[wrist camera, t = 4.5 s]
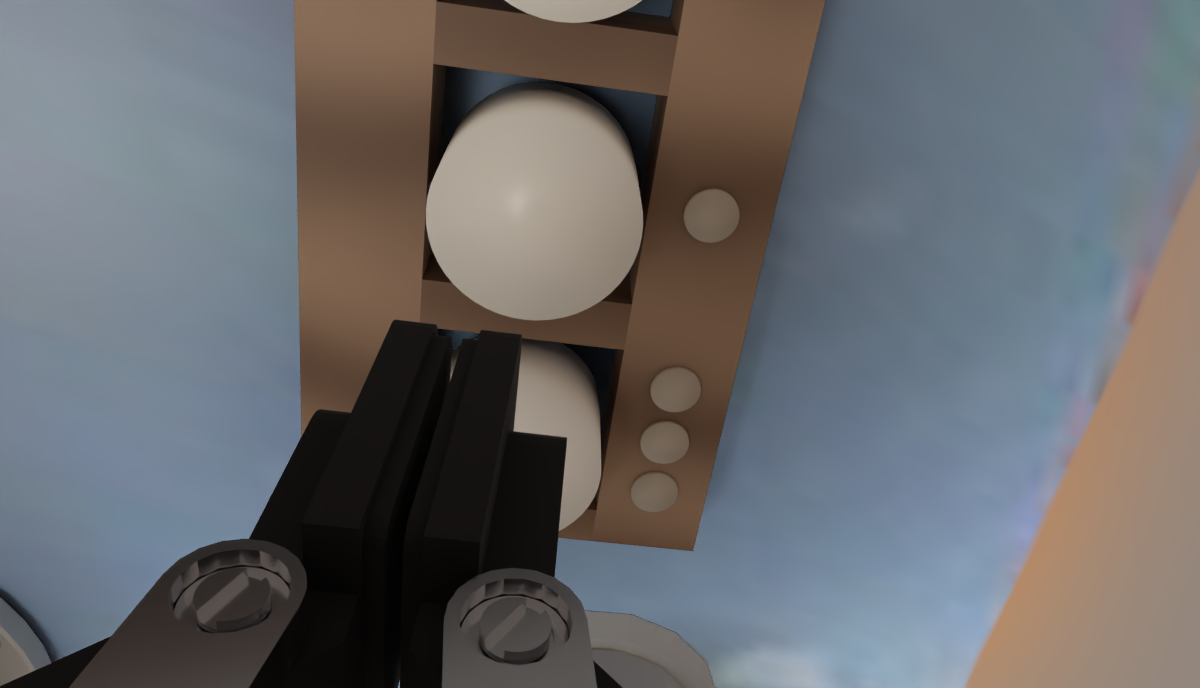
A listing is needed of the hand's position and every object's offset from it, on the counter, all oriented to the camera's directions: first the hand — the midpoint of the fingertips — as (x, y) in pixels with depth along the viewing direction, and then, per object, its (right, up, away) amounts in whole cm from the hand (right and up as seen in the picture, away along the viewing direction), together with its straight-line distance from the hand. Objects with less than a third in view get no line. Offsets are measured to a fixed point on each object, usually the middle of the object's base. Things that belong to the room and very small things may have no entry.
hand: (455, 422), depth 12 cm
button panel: (0, +6, +13) cm, 14 cm away
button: (0, +5, +12) cm, 13 cm away
